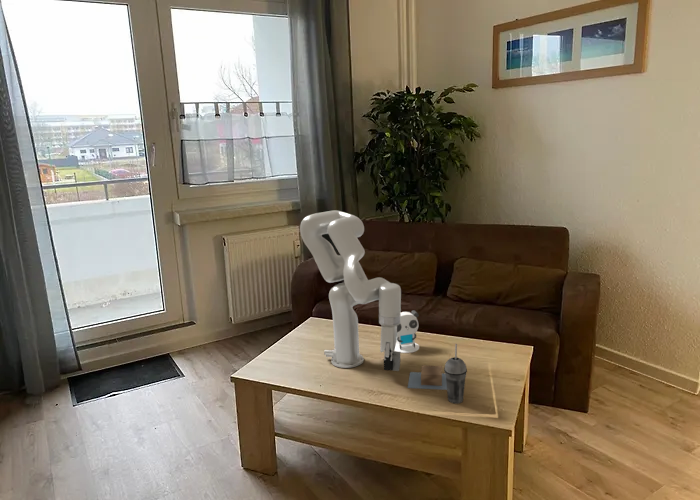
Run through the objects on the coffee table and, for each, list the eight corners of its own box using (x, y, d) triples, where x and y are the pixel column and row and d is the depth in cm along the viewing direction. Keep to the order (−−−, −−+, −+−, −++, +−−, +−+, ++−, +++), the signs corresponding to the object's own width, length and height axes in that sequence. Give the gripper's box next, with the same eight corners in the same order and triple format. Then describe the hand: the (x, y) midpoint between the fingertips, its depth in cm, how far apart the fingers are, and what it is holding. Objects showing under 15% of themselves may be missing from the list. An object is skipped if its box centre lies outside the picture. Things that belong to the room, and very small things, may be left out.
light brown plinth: (421, 384, 183) (420, 374, 182) (422, 375, 189) (422, 365, 188) (441, 385, 181) (441, 375, 180) (442, 376, 188) (441, 366, 187)
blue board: (407, 390, 181) (407, 387, 181) (410, 374, 193) (410, 372, 193) (455, 392, 178) (455, 390, 178) (454, 376, 190) (454, 373, 190)
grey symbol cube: (386, 363, 192) (386, 350, 190) (400, 364, 191) (400, 351, 189) (384, 369, 187) (384, 357, 186) (398, 371, 186) (399, 358, 185)
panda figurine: (395, 355, 210) (394, 319, 206) (386, 344, 221) (385, 310, 217) (423, 350, 212) (423, 315, 209) (413, 340, 223) (413, 306, 220)
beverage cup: (442, 406, 170) (441, 348, 165) (446, 395, 177) (446, 339, 172) (465, 409, 167) (465, 351, 163) (468, 398, 174) (468, 342, 169)
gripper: (382, 309, 193) (381, 354, 198) (375, 327, 177) (375, 376, 181) (402, 310, 192) (401, 356, 196) (398, 329, 175) (397, 378, 180)
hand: (389, 365), depth 189 cm, fingers closed on grey symbol cube, 5 cm apart
